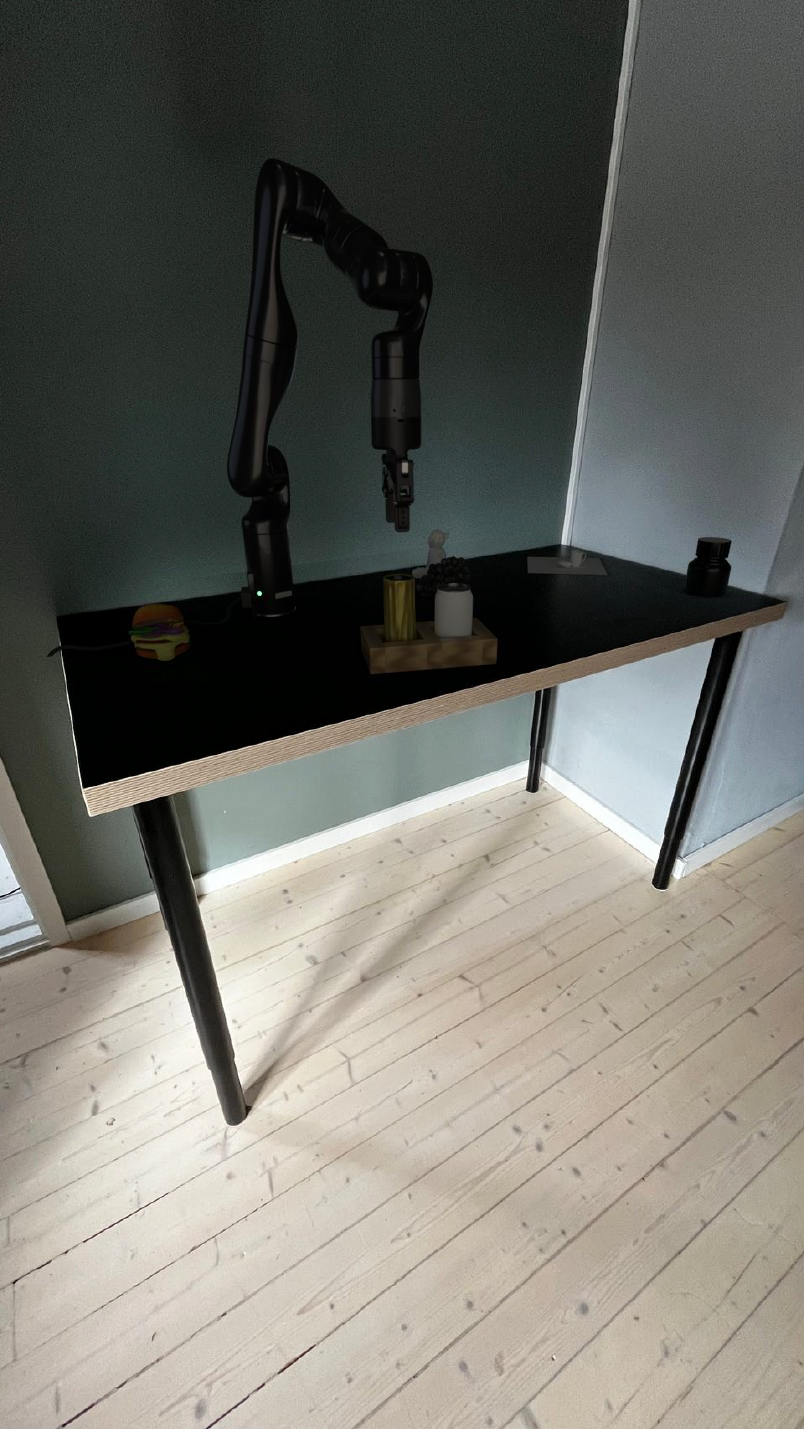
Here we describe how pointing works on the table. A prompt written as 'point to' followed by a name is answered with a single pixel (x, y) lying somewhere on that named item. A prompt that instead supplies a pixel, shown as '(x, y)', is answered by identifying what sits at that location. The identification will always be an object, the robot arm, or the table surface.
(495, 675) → the table surface
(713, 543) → the ink bottle
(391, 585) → the vase
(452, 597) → the can
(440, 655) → the holder
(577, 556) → the teacup and saucer
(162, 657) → the cheeseburger
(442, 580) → the fruit
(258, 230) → the robot arm
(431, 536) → the sitting furry creature
